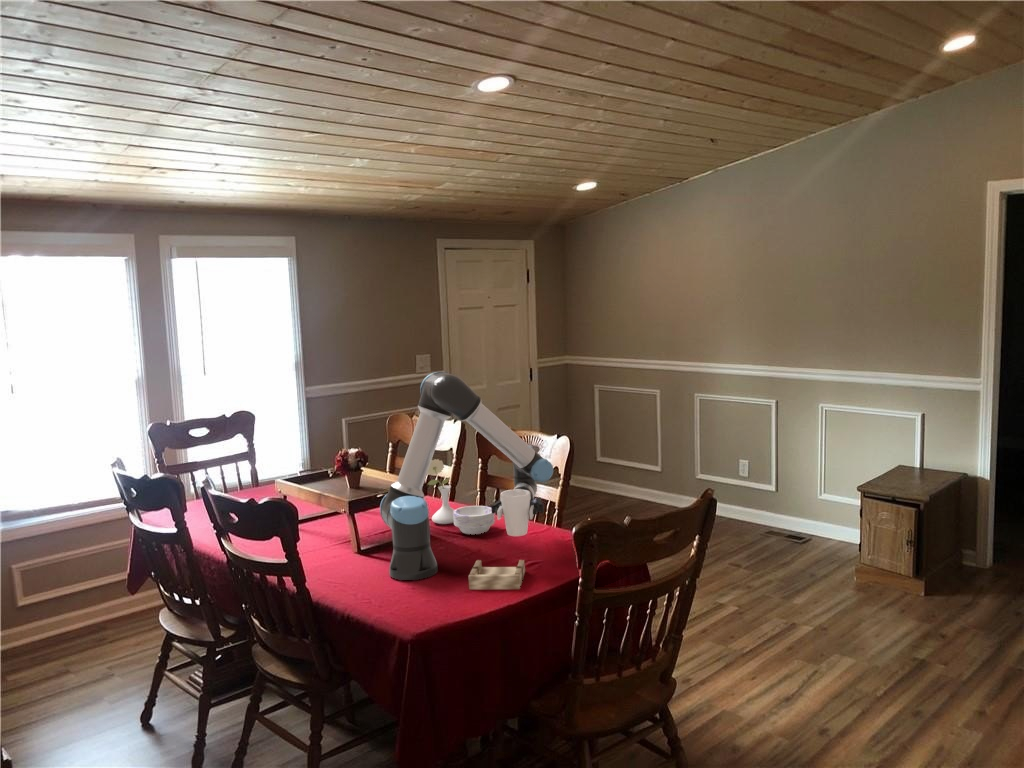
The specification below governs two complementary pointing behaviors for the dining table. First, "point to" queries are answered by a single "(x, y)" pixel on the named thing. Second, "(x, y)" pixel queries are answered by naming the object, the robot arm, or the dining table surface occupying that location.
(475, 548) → the dining table surface
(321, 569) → the dining table surface
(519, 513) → the foam cup
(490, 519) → the paper bowls
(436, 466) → the flower in vase
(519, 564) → the cradle
